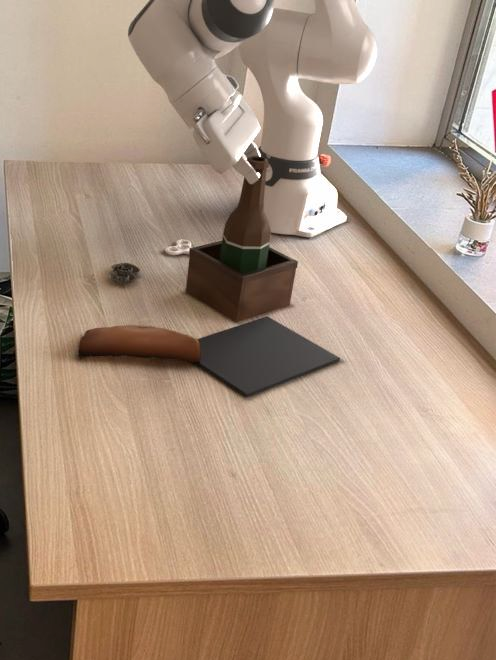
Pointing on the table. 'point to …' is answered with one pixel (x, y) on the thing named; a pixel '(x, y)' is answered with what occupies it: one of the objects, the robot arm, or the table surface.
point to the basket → (239, 283)
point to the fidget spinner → (179, 248)
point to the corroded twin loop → (123, 273)
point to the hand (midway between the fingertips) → (259, 175)
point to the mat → (260, 356)
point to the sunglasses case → (139, 343)
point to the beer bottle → (248, 226)
